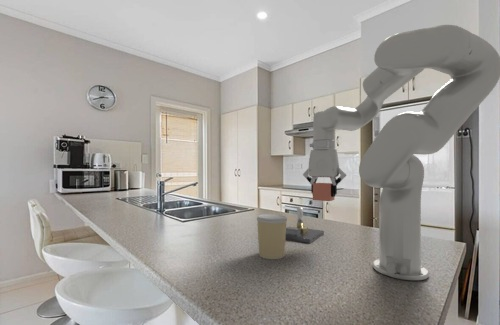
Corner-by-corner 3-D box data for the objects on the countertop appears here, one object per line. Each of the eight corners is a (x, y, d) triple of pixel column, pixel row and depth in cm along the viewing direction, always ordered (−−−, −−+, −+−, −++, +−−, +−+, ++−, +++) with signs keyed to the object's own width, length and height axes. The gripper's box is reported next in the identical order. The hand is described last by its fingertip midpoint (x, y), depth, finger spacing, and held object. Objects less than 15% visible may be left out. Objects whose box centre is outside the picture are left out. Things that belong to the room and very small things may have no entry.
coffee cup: (286, 250, 84) (286, 214, 84) (287, 261, 75) (287, 219, 75) (257, 249, 85) (258, 213, 85) (255, 259, 76) (255, 218, 76)
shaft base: (310, 243, 93) (310, 212, 93) (277, 238, 100) (278, 209, 100) (323, 234, 106) (323, 207, 106) (294, 230, 113) (294, 205, 114)
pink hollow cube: (329, 201, 88) (329, 183, 89) (312, 200, 92) (312, 183, 92) (334, 199, 93) (334, 183, 94) (318, 198, 97) (318, 182, 97)
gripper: (297, 146, 95) (297, 195, 94) (346, 144, 85) (346, 198, 85) (304, 147, 101) (304, 193, 101) (351, 145, 92) (351, 196, 91)
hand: (323, 195), depth 93 cm, fingers closed on pink hollow cube, 6 cm apart
